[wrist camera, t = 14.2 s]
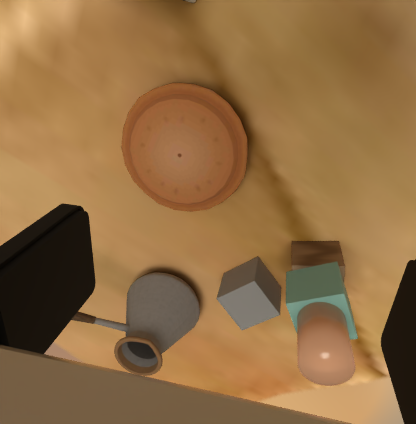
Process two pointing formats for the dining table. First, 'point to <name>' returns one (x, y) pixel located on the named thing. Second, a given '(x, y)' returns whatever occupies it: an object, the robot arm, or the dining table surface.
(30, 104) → the dining table surface
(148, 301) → the coffee pot
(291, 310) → the tower top
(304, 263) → the block
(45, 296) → the robot arm
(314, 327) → the pink rounded piece
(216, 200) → the pie
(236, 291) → the block
